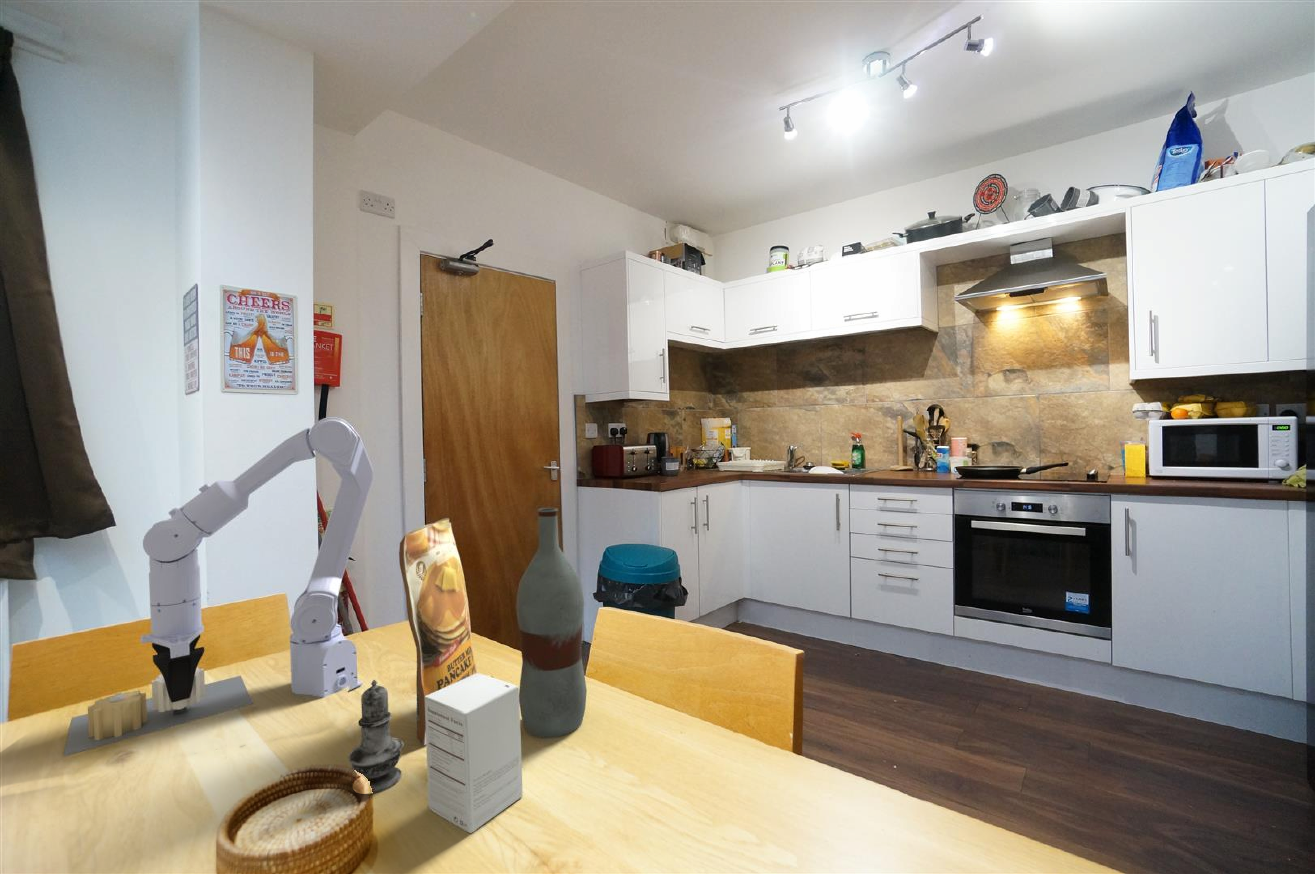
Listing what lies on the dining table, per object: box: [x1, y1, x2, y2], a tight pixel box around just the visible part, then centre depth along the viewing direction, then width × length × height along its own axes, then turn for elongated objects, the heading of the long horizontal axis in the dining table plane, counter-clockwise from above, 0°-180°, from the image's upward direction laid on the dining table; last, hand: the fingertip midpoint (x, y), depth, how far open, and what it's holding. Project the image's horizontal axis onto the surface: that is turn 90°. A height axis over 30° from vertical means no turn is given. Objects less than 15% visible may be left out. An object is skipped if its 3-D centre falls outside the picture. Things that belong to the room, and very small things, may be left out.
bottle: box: [515, 507, 588, 739], centre depth 81 cm, size 9×9×30 cm
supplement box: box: [425, 672, 524, 834], centre depth 63 cm, size 7×7×13 cm
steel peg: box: [173, 706, 187, 715], centre depth 85 cm, size 2×2×4 cm
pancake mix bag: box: [398, 517, 478, 747], centre depth 83 cm, size 7×19×28 cm, turn 174°
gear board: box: [62, 675, 254, 757], centre depth 85 cm, size 20×14×6 cm
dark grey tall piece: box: [348, 679, 404, 795], centre depth 68 cm, size 6×6×12 cm
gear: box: [151, 666, 205, 712], centre depth 85 cm, size 6×6×4 cm
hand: (179, 692), depth 85 cm, fingers closed on gear, 6 cm apart
